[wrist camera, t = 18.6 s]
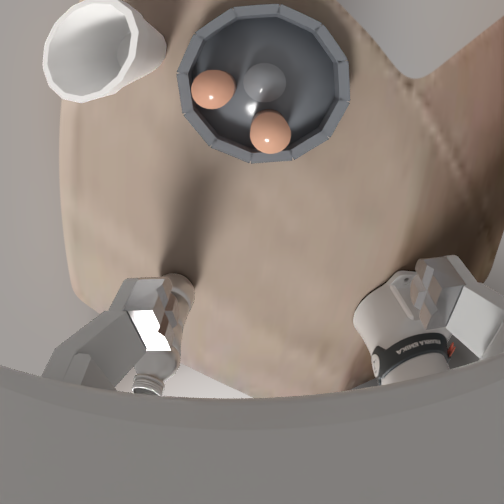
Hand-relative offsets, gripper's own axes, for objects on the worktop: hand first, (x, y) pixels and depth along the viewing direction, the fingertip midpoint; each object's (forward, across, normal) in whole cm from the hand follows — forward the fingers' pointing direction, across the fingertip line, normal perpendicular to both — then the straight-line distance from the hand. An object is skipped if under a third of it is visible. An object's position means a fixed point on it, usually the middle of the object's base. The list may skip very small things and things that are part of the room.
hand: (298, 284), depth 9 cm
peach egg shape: (+27, -5, +5) cm, 28 cm away
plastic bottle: (+28, -16, -23) cm, 40 cm away
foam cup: (+28, -14, +12) cm, 33 cm away
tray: (+28, 0, +5) cm, 29 cm away
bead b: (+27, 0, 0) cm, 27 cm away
